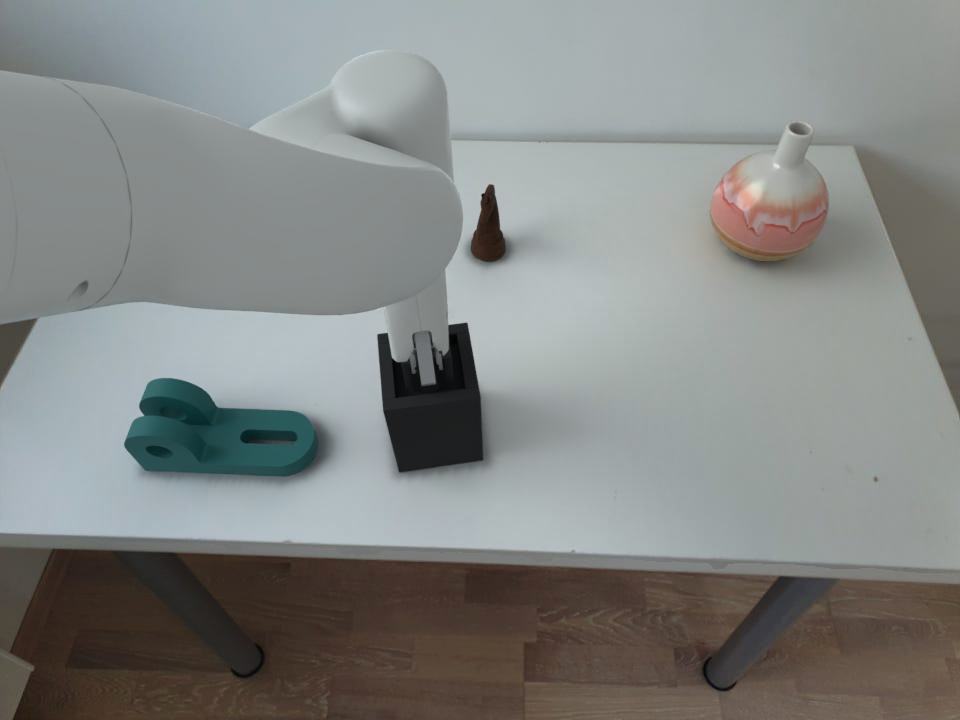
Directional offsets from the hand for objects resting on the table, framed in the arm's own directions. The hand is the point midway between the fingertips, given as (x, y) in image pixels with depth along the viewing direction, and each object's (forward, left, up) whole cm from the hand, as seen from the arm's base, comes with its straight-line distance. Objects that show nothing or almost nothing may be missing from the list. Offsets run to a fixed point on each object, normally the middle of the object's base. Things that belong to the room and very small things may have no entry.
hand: (427, 363), depth 67 cm
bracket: (-21, +5, -13) cm, 25 cm away
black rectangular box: (0, 0, -13) cm, 13 cm away
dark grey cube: (0, 0, 0) cm, 0 cm away
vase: (+47, +13, -13) cm, 51 cm away
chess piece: (+14, +24, -13) cm, 31 cm away
